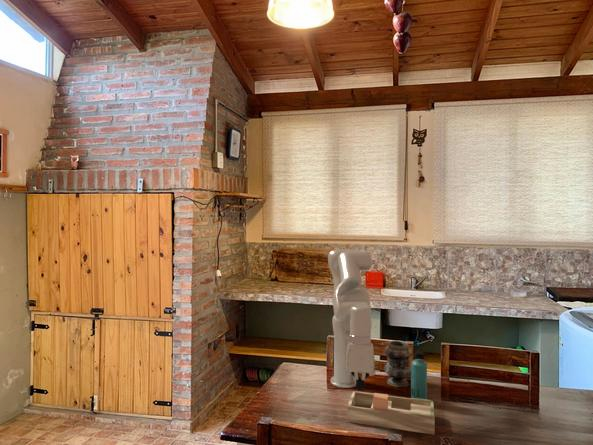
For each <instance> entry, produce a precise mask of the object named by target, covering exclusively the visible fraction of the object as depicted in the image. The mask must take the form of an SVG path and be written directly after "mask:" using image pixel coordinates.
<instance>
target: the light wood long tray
mask: <svg viewBox="0 0 593 445" xmlns="http://www.w3.org/2000/svg"><path fill="white" fill-rule="evenodd" d="M373 396H374V393H370V392H363V391H356V390H355V391H354V390H353V391H352V394H351V396H350V399H349V401H348V404H347V405H346V406H347V407H346V408H347V409H346V414H347V416H346V418H347V419H346V422H347V423H353V424H360V425H368V426H375V427H381V428H386V429H387V428H388V429H393V430H394V429H395V430H401V431H407V432H415V433H422V434H428V435H432V436H433V435H435V433H436V432H435V431H436V430H435V428H436V427H435V426H436V424H435V423H436V422H435V421H436V420H435V419H436V417H435V408H434V407H435V406H434V401H433V400H431V399H418V398H412V397H404V396H394V395H388V411H385V410H378V409H373Z"/></svg>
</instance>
